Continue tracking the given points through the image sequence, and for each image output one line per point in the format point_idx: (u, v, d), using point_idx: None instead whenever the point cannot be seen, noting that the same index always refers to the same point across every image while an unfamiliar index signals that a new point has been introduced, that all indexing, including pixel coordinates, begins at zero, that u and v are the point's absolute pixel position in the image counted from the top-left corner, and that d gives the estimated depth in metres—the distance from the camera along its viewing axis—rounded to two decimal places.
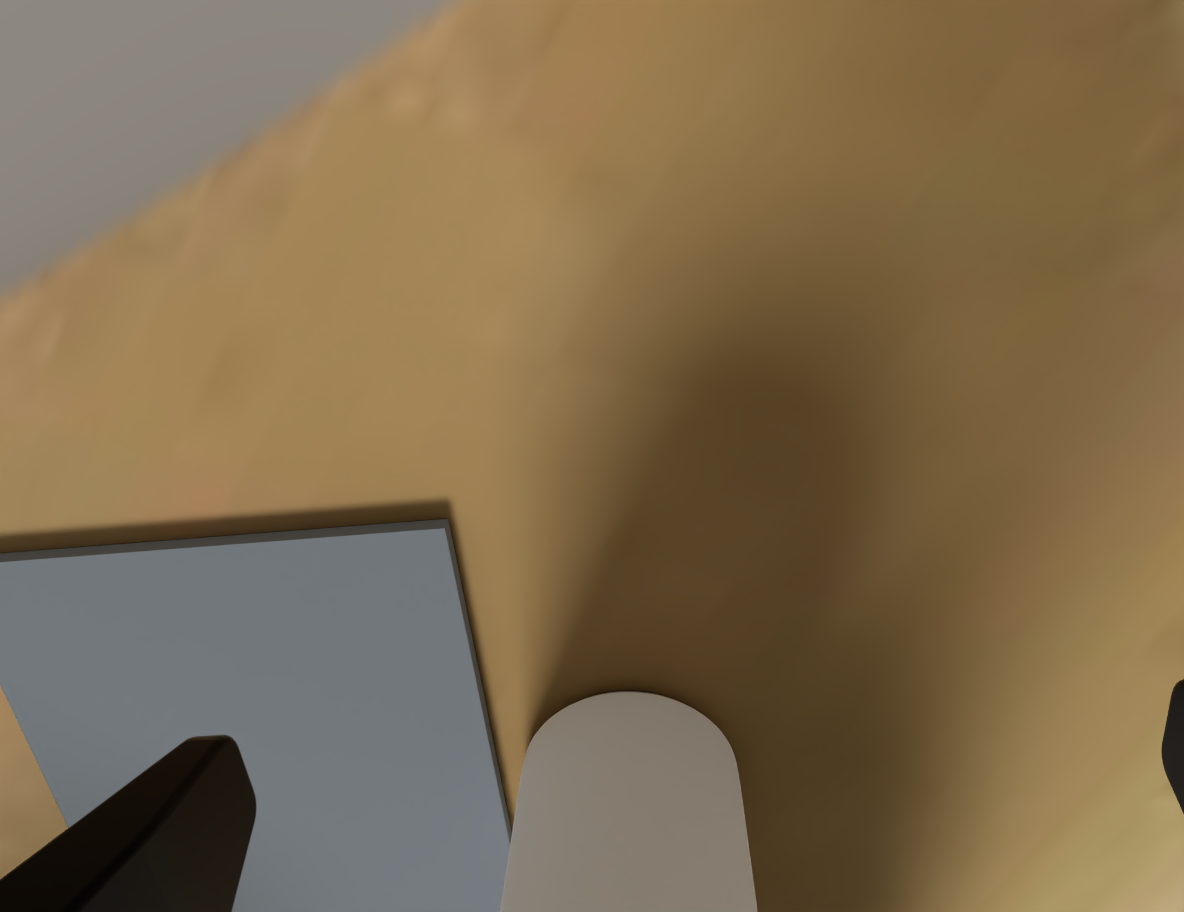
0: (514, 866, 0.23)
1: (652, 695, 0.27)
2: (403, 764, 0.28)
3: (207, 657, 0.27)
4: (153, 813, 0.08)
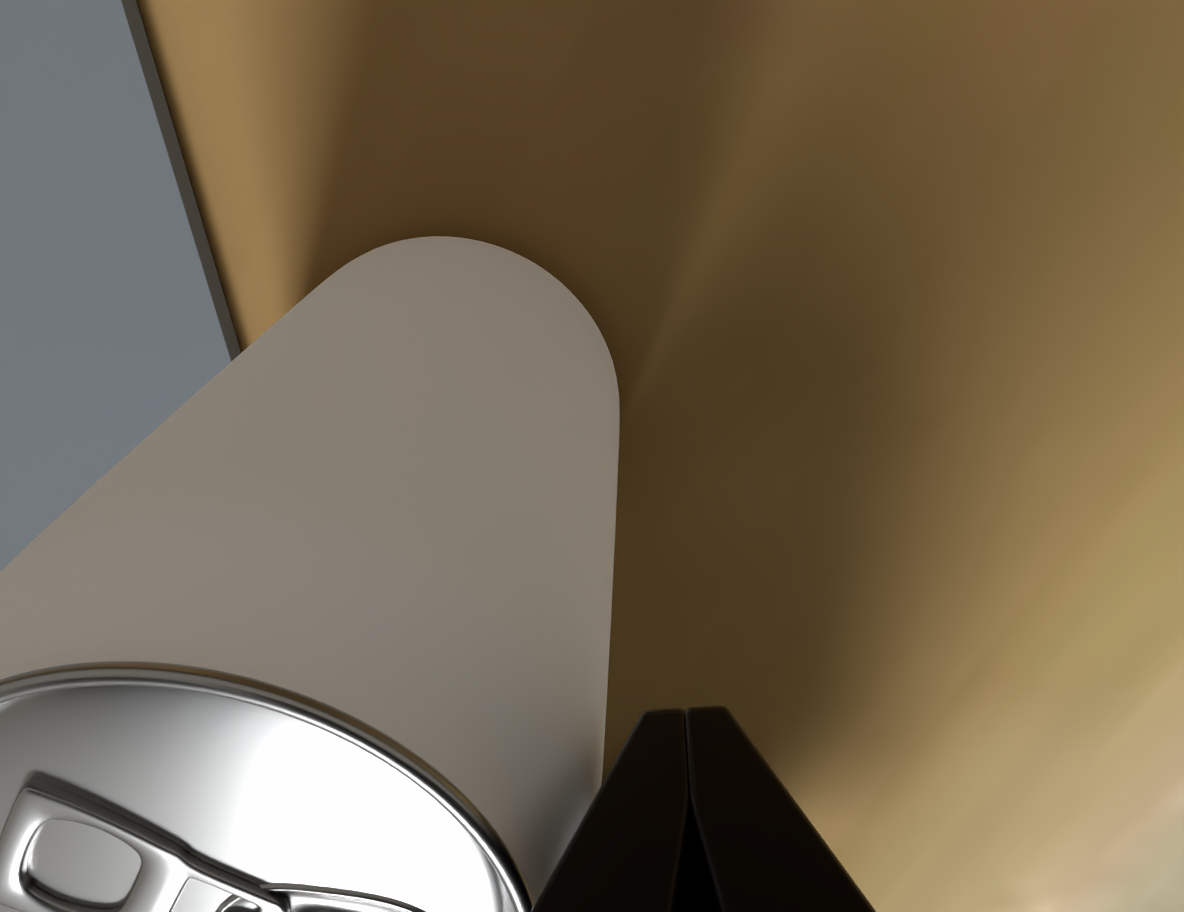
0: None
1: (470, 239, 0.17)
2: (100, 387, 0.18)
3: None
4: (677, 786, 0.08)
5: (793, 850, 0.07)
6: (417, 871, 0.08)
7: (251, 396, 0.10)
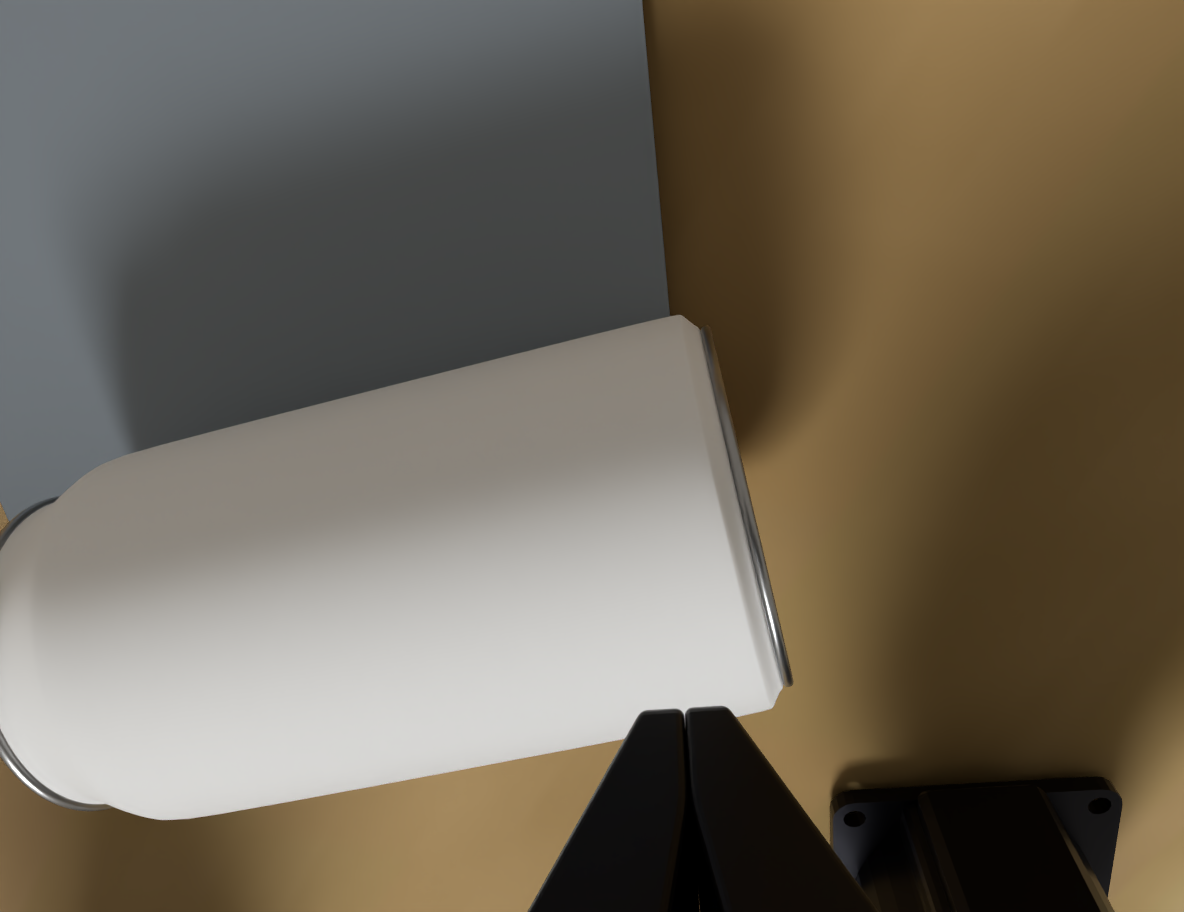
0: None
1: (691, 404, 0.13)
2: (524, 343, 0.17)
3: (206, 131, 0.16)
4: (674, 786, 0.08)
5: (795, 850, 0.07)
6: None
7: (204, 464, 0.14)
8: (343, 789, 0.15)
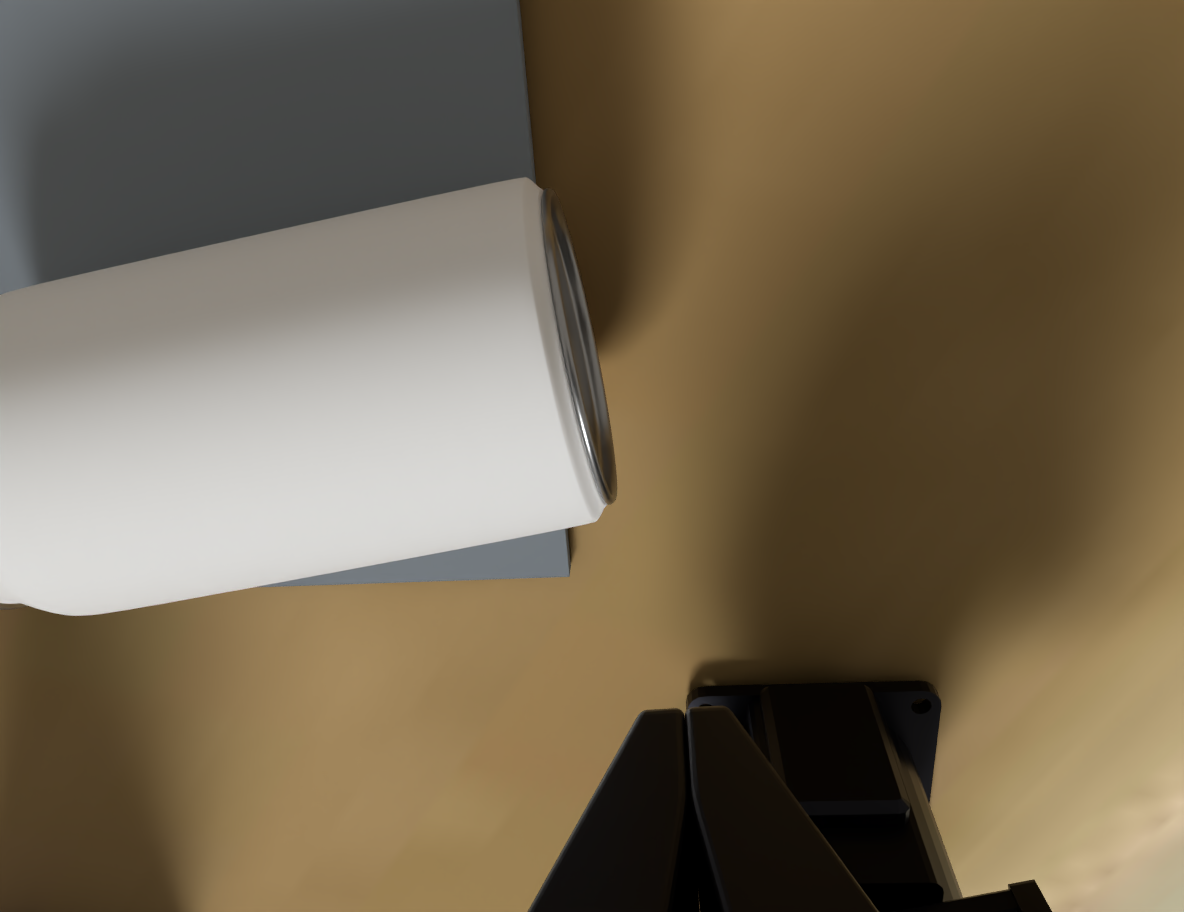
0: None
1: (517, 201, 0.15)
2: None
3: (127, 46, 0.18)
4: (674, 786, 0.08)
5: (796, 850, 0.07)
6: None
7: (117, 266, 0.17)
8: (189, 563, 0.16)
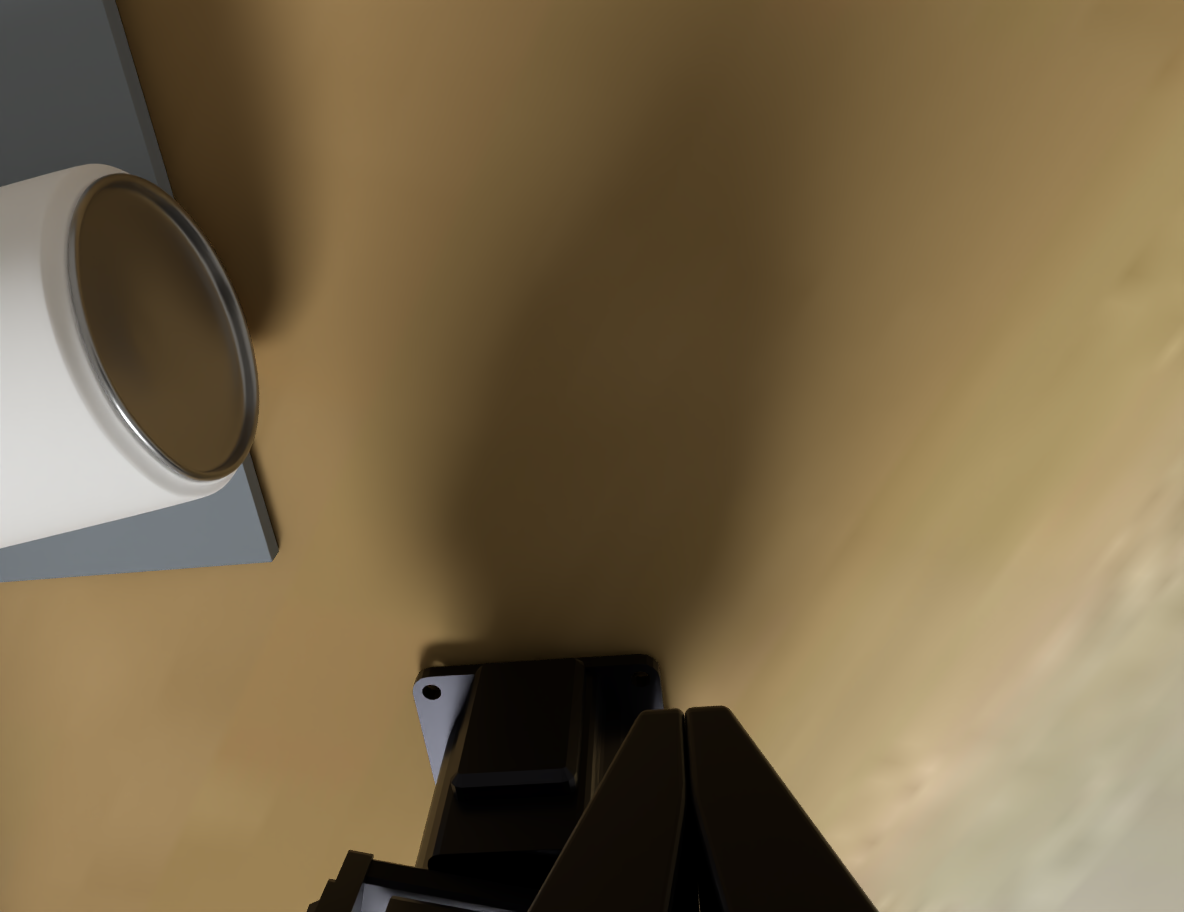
0: None
1: (52, 185, 0.16)
2: None
3: None
4: (674, 786, 0.08)
5: (795, 850, 0.07)
6: None
7: None
8: None
